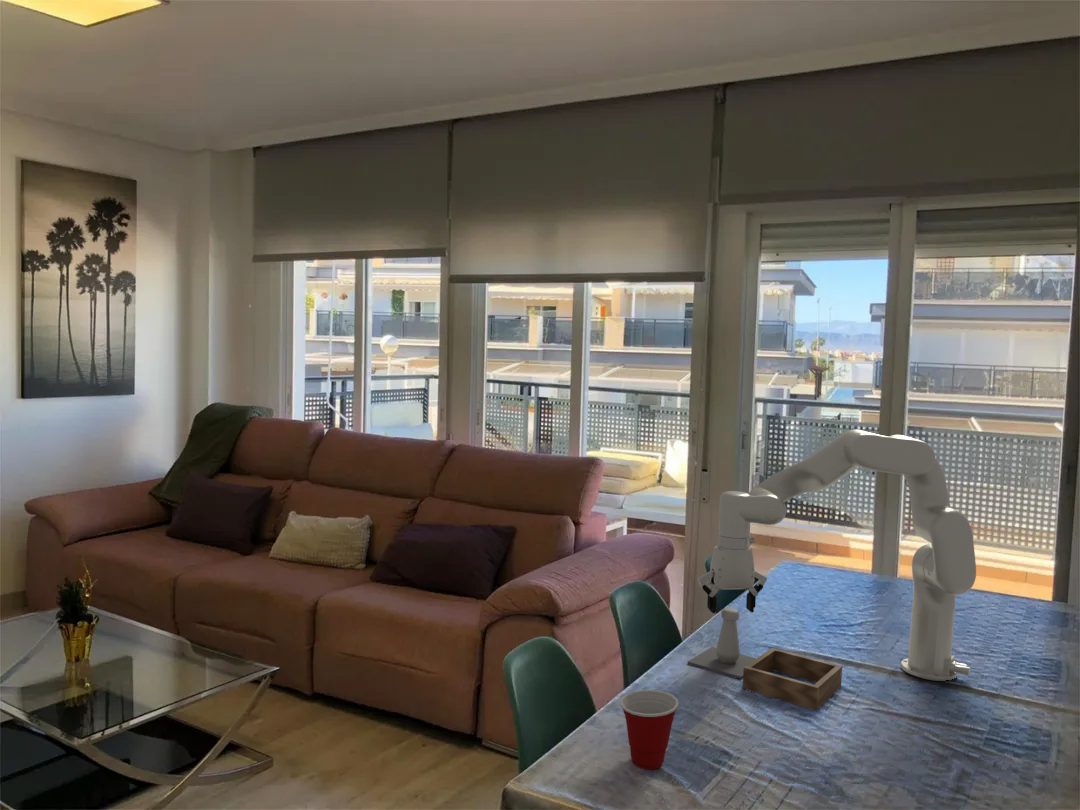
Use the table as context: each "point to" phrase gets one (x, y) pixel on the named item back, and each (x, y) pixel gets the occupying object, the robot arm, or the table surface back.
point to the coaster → (712, 663)
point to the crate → (790, 689)
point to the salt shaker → (728, 637)
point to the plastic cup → (648, 725)
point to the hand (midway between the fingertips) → (731, 611)
